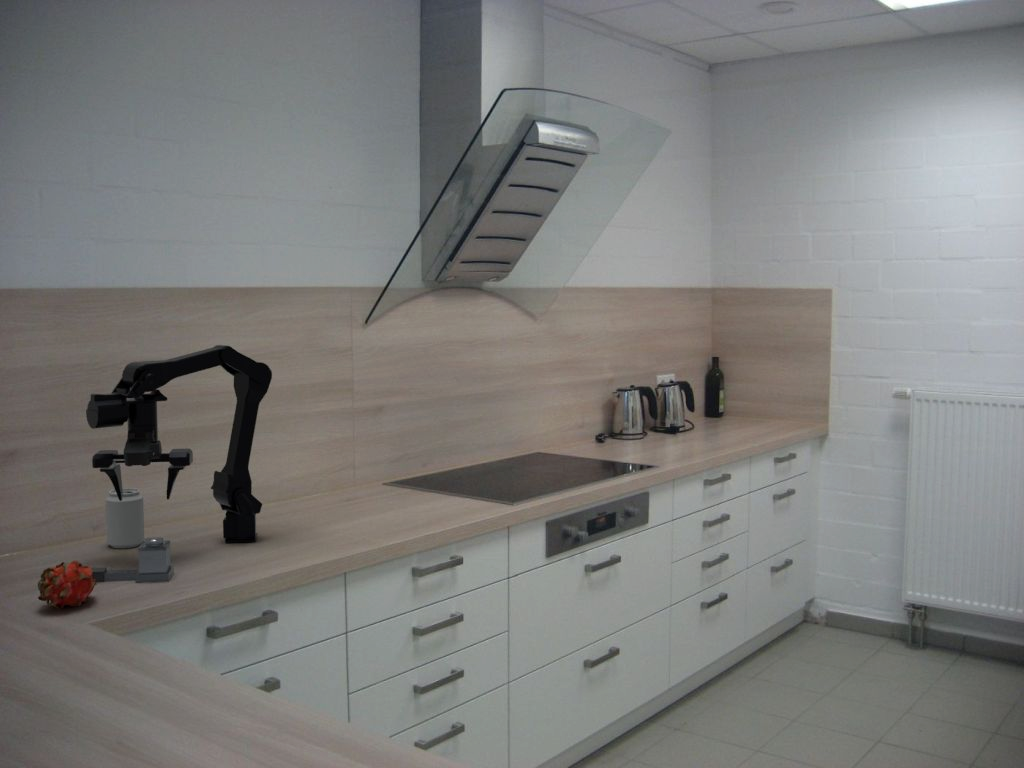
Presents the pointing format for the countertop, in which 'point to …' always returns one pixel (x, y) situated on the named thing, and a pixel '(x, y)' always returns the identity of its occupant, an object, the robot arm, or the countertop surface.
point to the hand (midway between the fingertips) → (144, 499)
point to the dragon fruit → (66, 584)
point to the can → (125, 519)
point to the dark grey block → (154, 556)
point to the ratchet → (130, 575)
